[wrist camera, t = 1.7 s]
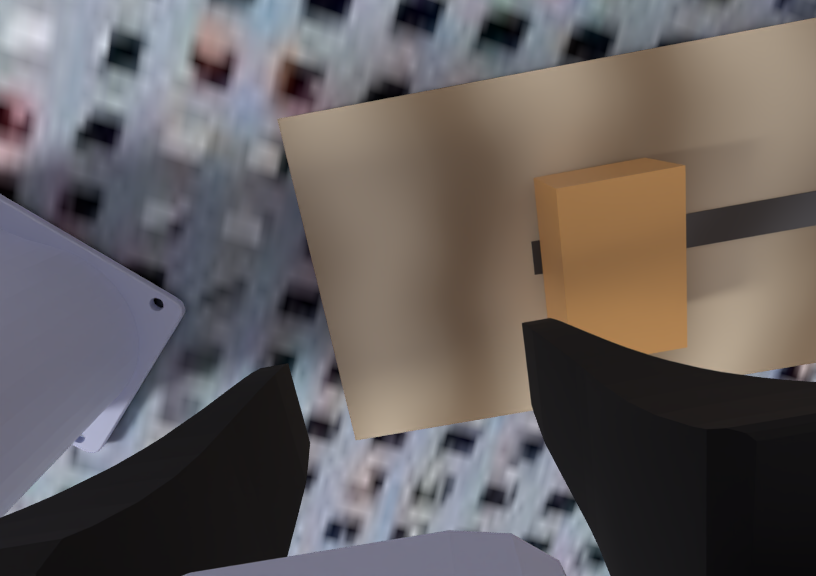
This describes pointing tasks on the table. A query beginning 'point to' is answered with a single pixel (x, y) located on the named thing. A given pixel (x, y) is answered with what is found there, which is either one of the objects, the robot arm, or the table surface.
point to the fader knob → (617, 251)
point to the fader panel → (518, 224)
